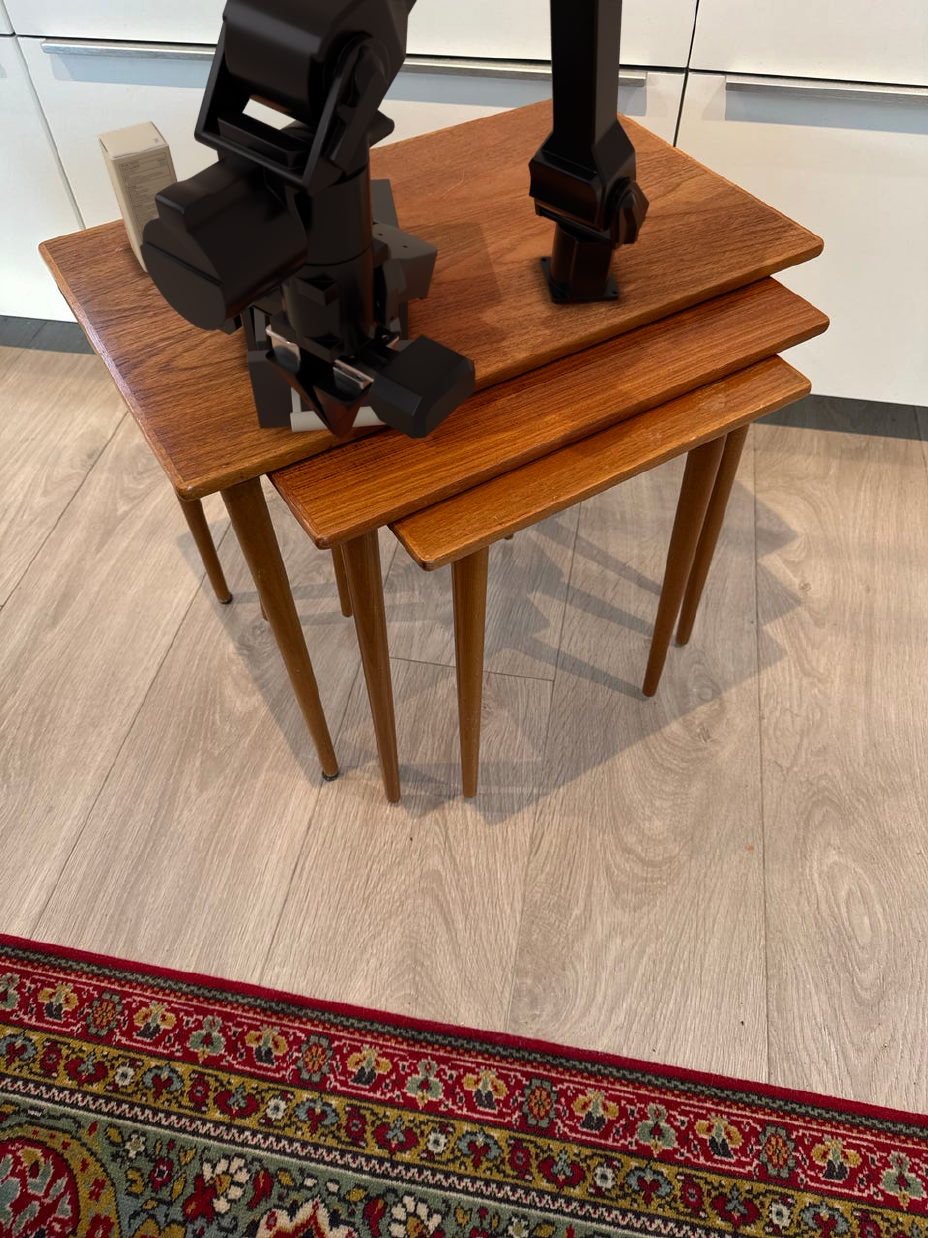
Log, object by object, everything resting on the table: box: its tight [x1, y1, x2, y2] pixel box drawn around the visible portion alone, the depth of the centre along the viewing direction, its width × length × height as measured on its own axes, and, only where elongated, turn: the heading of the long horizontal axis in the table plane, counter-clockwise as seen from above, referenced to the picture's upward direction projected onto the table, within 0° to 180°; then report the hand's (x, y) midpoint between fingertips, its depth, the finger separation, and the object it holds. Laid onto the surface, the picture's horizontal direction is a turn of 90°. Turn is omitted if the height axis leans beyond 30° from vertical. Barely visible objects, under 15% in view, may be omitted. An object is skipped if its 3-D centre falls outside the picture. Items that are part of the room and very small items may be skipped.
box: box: [96, 120, 179, 273], centre depth 82 cm, size 5×4×11 cm
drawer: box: [246, 288, 414, 433], centre depth 73 cm, size 16×12×7 cm
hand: (341, 433), depth 65 cm, fingers closed
